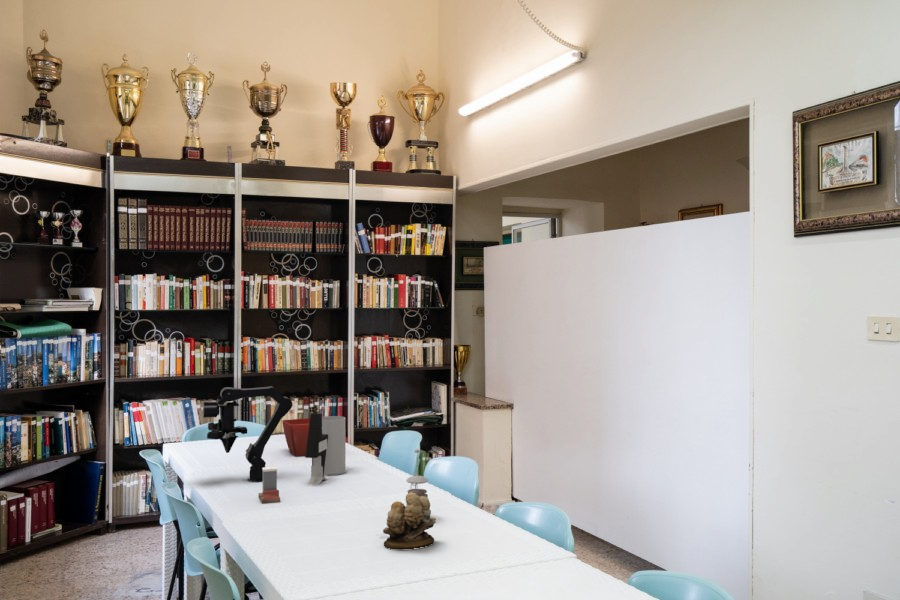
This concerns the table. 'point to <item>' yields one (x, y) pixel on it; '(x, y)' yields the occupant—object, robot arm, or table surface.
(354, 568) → the table surface
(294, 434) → the plant pot
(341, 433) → the cylinder vase
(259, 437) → the robot arm
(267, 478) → the gray cream rectangular block
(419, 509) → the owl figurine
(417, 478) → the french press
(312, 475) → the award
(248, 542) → the table surface
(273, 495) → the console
